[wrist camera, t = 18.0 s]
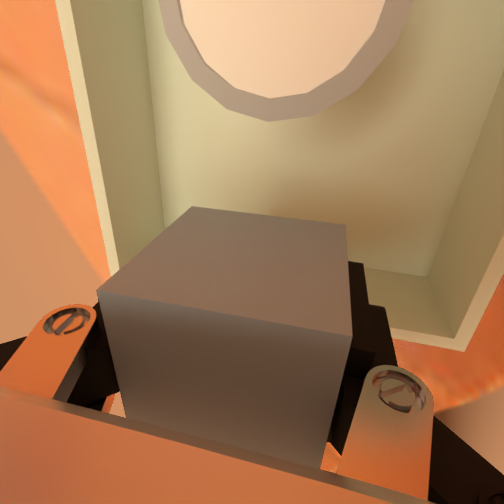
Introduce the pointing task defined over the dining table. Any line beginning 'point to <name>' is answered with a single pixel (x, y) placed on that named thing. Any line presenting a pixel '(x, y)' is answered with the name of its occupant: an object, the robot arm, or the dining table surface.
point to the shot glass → (282, 50)
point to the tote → (314, 155)
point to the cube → (234, 330)
